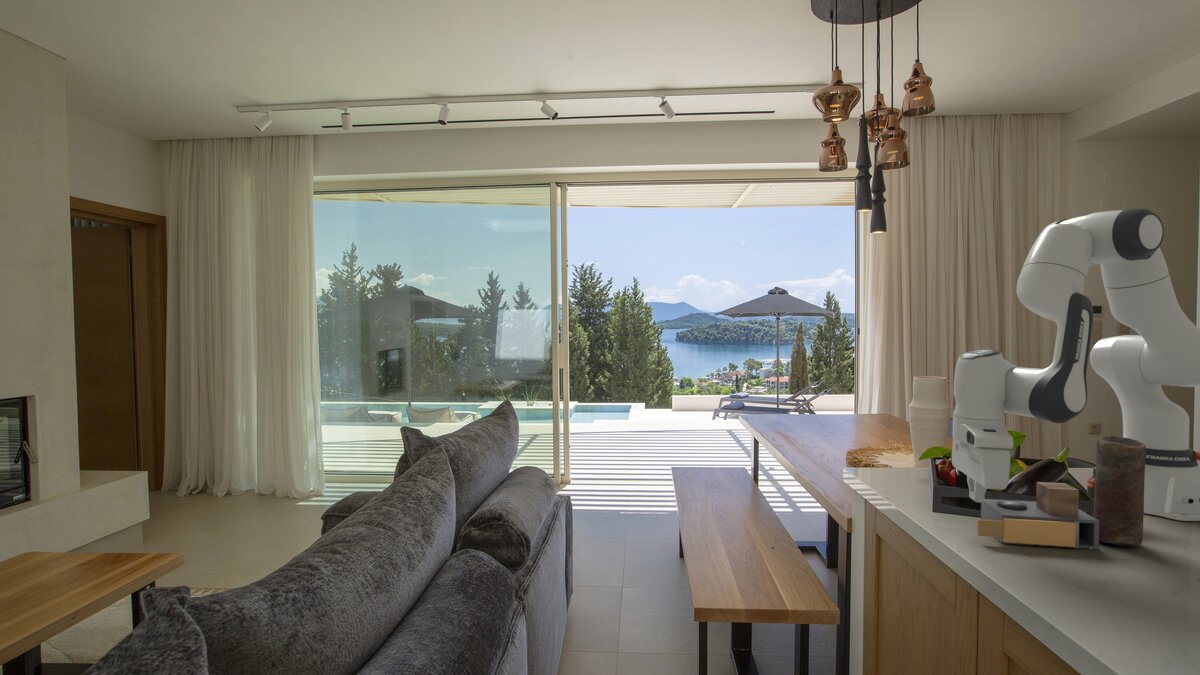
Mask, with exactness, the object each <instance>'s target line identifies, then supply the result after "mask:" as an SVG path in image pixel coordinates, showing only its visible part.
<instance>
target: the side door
mask: <svg viewBox="0 0 1200 675" xmlns="http://www.w3.org/2000/svg"><path fill="white" fill-rule="evenodd" d="M976 536H978V537H991V538H992V537H993V538H995V537H1003V541H1004V542H1009V543H1024V544H1039V545H1054V546H1069V547H1074V548H1073V549H1078V548H1079V522H1077V521H1074V522H1061V521H1044V520H1028V519H1011V518H1003V521H1001V520H984V519H981V518H980V519H979V518H977V519H976Z"/></svg>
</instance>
